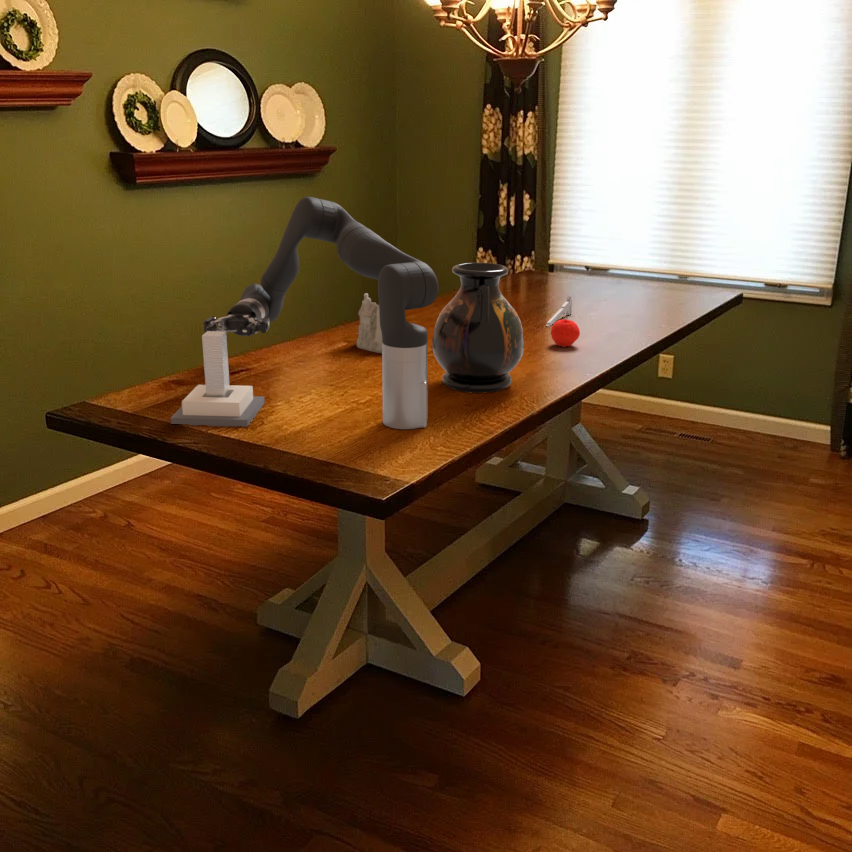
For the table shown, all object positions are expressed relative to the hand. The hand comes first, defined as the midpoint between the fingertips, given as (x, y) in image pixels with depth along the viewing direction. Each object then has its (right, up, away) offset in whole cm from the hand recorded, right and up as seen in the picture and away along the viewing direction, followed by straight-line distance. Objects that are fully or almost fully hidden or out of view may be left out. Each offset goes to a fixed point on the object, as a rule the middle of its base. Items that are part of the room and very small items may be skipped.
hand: (229, 331), depth 206 cm
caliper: (+84, +11, +81) cm, 118 cm away
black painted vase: (+55, -11, +16) cm, 59 cm away
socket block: (-1, -18, -6) cm, 19 cm away
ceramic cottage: (+32, +1, +51) cm, 60 cm away
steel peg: (-1, -17, -7) cm, 18 cm away
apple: (+81, +1, +51) cm, 96 cm away
